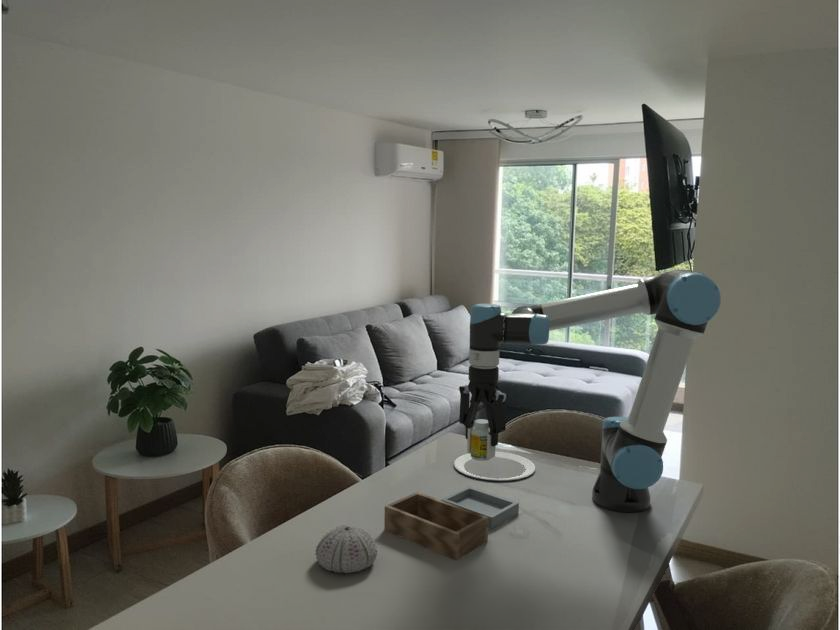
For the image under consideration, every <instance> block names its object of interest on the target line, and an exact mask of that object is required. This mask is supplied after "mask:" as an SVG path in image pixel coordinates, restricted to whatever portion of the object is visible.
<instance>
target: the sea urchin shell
mask: <svg viewBox="0 0 840 630" xmlns="http://www.w3.org/2000/svg"><path fill="white" fill-rule="evenodd" d="M315 548H316V549H315V554H314V555H315V556H316V558H315V559H316V560H317V561H318V564H319V565H320V566H321V568H324V569H325V570H327V571H329V572H334V573H339V574H341V573H345V574H348V573H349V574H351V573H354V572H360V571H362V570H365V569H367V568H369V567H370V566H372V564H373V563H374V562H375V560H377V555H378V554H377V553H378V550H377V545H376V542H375V540H374V539H373V537H372V536H371V535H370V534H369V533H368V532H367V531H365V530H364V529H363V528H361V527H358V526H350V525H346V524H342V525H340V526H337V527H335V528H333V529H332V530H330V531H329V532H326V534H325V535H323V537H322V538H321V540H320V541H319V542H318V544H317V545H316V546H315Z"/></svg>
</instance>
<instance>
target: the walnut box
mask: <svg viewBox="0 0 840 630" xmlns="http://www.w3.org/2000/svg"><path fill="white" fill-rule="evenodd" d="M383 524H384V531H386V532H388V533H390V534H393V535H396V536H398V537H401V538H403V539H405V540H407V541H410V542H412V543H414V544H417V545H420V546H422V547H424V548H426V547H427V549H428V550H430V551H433V552H436V553H438V554H440V555H442V556H446V557H448V558H450V559H451V560H452V559H453V560H455V561H458V560H460V559H461V558H462V557H464V556H466V555H467V554H469V553H471V552H472V551H474V550H475V549H477V548H479V547H481V546H483V545H484V544H486V543H488V541H489V528H488V517H486V516H483V515H481V514H478V513H475V512H472V511H469V510H467V509H464V508H461V507H458V506H455V505H453V504H450V503H447V502H444V501H441V499H438V498H436V497H433V496H430V495H428V494H423V493H421V492H419V491H416V492H413V493H412V494H410V495H409V494H408V495H407V496H405V497H403V498H401V499H398V500H396V501H394V502H391V503H389V504H386V505H385V506H384V523H383Z"/></svg>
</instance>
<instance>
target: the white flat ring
mask: <svg viewBox="0 0 840 630" xmlns="http://www.w3.org/2000/svg"><path fill="white" fill-rule="evenodd" d="M494 458H501V459H502V458H503V459H508V460H511V461H515V462H516V463H517V462H518V463H519V464H521V465H522V466H523V465H524V466H523V468H524V471H525V472H524V471H523V472H522V473H521V474H522V475H521V474H519V475H520V476H519V475H516V476H513V477H506V478H505V477H504V478H501V477H500V478H498V479H497V477H496V478H495V477H494V478H493V477H486V476H481V477H480V475H477V474H474V473H472V472H470V471H468V470H467V469H466V468H465V465H466V463H467V462H469V461H471V460H473V459H472V458H471V453H470V454H469V453H465V454H463V455H461V456H458V457H457V458H456V459H454V461H453V462H454V463H453V466H454V469H456V471H458V472H459V473H461V474H462V475H465V476H467V477H469V478H474V479H477V480H482V481H489V482H512V481H518V480H522V479H526V478H528V477H530V476H532V475H533V474H534V473H535V471H536V465H535V464H534V463H533V461H531V460H529V458H526V457H523V456H521V455H518V454H514V453H510V452H504V451H495V457H494ZM465 469H466V470H467V471H468V472H467V471H466V470H465ZM525 469H526V470H525ZM469 472H470V473H469ZM471 473H472V474H471ZM473 474H474V475H473ZM476 475H477V476H476Z"/></svg>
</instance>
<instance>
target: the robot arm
mask: <svg viewBox="0 0 840 630" xmlns="http://www.w3.org/2000/svg"><path fill="white" fill-rule="evenodd" d="M721 301H722V298H721V292H720V289H719V287H718V286H717V284H716V283H715V281H714V280H712V278H710V277H708V276H707V275H705V274H704V273H700V272H698V271H691V270H688V269H681V268H680V269H673V270H669V271H665V272H662V273H660V274H655V275H651V276H648V277H645V278H640V279H638V280H637V282H636V283H634V284H629V285H625V286H621V287H615V288H611V289H606V290H602V291H601V290H600V291H597V292H591V293H587V294H582V295H578V296H573V297H572V296H571V297H568V298H562V299H558V300H553V301H547V302H542V303H539V304H533V305H529V306H527V305H521V306H518V307H516V308H515V309H514V310H512V312H510V313H507V312H502V308H501V306H500V305H499V304H496V303H495V304H494V303H476V304H474V305H472V306H471V308H470V318H469V320H470V321H469V353H468V354H469V355H468V359H469V360H468V363H469V366H468V380H469V382H468V384H464V385H460V386H459V387H458V391H459V394H460V398H459V399H460V401H459V417H458V419H459V421H458V423H459V424H462V425H464V427H465V440H467V442H466V443H467V444H466V445H467V447H466V448H467V449H466V451H467V452H466V454H468V453H469V454H470V453H471V431H472V429H473V428H475V427H474V421H475V420H477V419H476V418H477V415H478V411H479V408H480V404H481V403H482V404H483V407H484V408H485V412H486V417H487V419H486V420H488V424H489V429H490V432H489V433H488V434H487V459H489V460H491V459H493V458H496V457H495V452H496V446H498V444H499V434H501V433H504V432H505V431H506V428H507V425H506V424H507V423H506V422H507V420H506V419H507V417H506V416H507V414H506V413H507V411H506V410H507V401H508V397H509V395H508V393H507V392H501V391H500V389H499V386H498V382H499V375H500V368H499V367H498V365H500V344H513V345H514V344H516V345H517V344H518V345H520V344H521V345H531V346H532V345H533V346H537V345H538V346H539V345H546V344H548V342H549V339H550V331H551V332H552V331H555V330H562V329H565V328H570V327H571V328H572V327H575V326H580V325H581V326H582V325H585V324H590V323H596V322H600V321H601V322H602V321H606V320H611V319H615V318H621V317H625V316H632V315H636V314H641V313H643V314H645V315H647V316H651V315H654V322H655V324H656V325H657V331H656V334H655V337H654V341H653V343H652V346H651V349H650V351H649V356H648V358H647V361H646V365H645V367H644V371H643V373H642V377H641V380H640V381H639V382H640V383H639V386H638V389H637V392H636V395H635V398H634V400H633V402H632V403H633V404H632V408H631V410H630V413H629V415H628V416H608V417H606V418H604V420H603V421H602V427H601V431H602V432H601V450H600V451H601V452H600V469H599V473H598V476H597V477H596V480H595V482H594V485H593V488H592V492H591V499H592V501H593V502H594V503H595V504H596V505H598V506H600V507H602V508H604V509H608V510H611V511H614V512H615V511H616V512H622V513H639V512H643V511H645V510H648V509H649V508H650V507H651V493H650V490H649V487H652V486H654V485H656V483H658V482H659V481H660V479H661V477H662V475H663V472H664V461H663V455H664V454H663V453H664V451H665V448H666V445H667V442H668V438H667V437H666V434H665V433H664V430H665V428H666V424H667V422H668V418H669V415H670V413H671V410H672V407H673V404H674V401H675V398H676V395H677V392H678V389H679V386H680V383H681V380H682V378H683V374H684V371H685V368H686V366H687V363H688V359H689V356H690V353H691V351H692V348H693V345H694V342H695V340H696V339H697V338H700V337H701V336H703V335H704V334H705V331H706V328H707V325H708V322H709V321H710V320H712V319H713V318H714V317H715V316H716V315H717V313H718V312H719V310H720V307H721ZM495 397H496V398H495Z"/></svg>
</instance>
